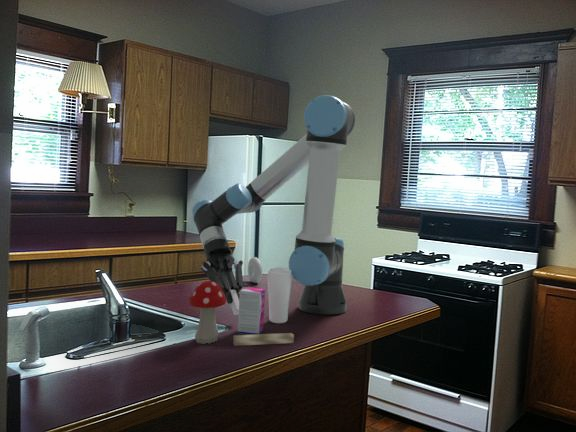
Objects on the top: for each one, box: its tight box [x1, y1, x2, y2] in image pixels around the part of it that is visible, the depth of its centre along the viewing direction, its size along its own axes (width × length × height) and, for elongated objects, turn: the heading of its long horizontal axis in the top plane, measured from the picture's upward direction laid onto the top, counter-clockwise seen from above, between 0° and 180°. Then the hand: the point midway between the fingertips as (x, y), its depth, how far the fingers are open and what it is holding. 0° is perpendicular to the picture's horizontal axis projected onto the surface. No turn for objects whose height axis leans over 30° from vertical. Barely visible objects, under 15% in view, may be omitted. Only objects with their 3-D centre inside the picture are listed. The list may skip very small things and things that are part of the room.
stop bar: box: [232, 332, 295, 347], centre depth 142 cm, size 15×2×2 cm, turn 106°
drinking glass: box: [267, 266, 293, 324], centre depth 162 cm, size 7×7×15 cm
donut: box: [247, 256, 263, 284], centre depth 220 cm, size 10×4×10 cm, turn 23°
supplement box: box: [237, 286, 266, 335], centre depth 151 cm, size 6×6×12 cm
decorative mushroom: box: [189, 280, 227, 345], centre depth 142 cm, size 10×9×15 cm
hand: (238, 312), depth 158 cm, fingers closed
